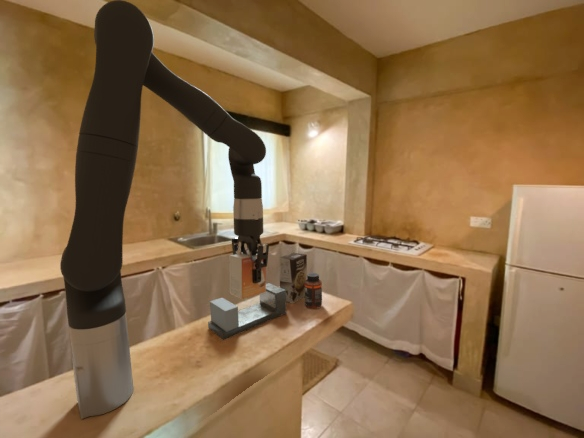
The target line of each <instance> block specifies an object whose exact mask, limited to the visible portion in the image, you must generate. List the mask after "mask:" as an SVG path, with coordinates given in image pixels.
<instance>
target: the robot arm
mask: <svg viewBox="0 0 584 438" xmlns="http://www.w3.org/2000/svg"><path fill="white" fill-rule="evenodd" d="M93 29H94V31H93V33H94V34H93V37H94V44H95V46H96V47H95V65H94V73H93V79H92V83H91V86H90V90H89V94H88V96H87V100H86V102H85V107H84V110H83V114H82V119H81V123H80V127H79V133H78V138H77V139H78V140H77V146H76V153H75V167H74V168H75V169H74V192H75V207H74V208H75V209H74V216H73V221H72V225H71V230H70V233H69V237H68V241H67V244H66V246H65V248H64V250H63V252H62V255H61V258H60V266H59V267H60V272H61V276H62V277H63V282H64V283H63V284H64V291H65V304H66V305H65V306H66V316H67V323H68V331H69V338H70V344H71V353H72V359H71V362H72V368H73V377H74V384H75V393H76V400H77V401H78V402H77V406H78V411H79V416H80V420H83V419H86V418H88V417H94V416H95V417H96V416H99V415H103V414H107V413H109V412H111V411H113V410H116V409H117V408H120V406H122V405H123V404H124V403H126V402H127V401H128V400H129V399H130V398H131V396H132V395H133V392H134V378H133V370H132V369H133V368H132V361H131V359H132V358H131V349H130V341H129V328H128V319H127V310H126V308H127V307H126V299H125V295H124V293H125V292H124V288H123V281H122V272H121V271H122V267H123V262H124V261H123V256H124V255H123V253H124V252H123V248H124V247H123V245H124V244H123V241H124V240H123V236H124V223H125V222H124V221H125V220H124V219H125V214H126V213H125V212H126V208H127V205H128V200H129V197H130V193H131V188H132V184H133V180H134V179H133V178H134V173H135V170H136V164H137V158H138V157H137V156H138V149H139V142H140V141H139V140H140V130H141V116H142V115H141V113H142V111H141V108H142V93H143V86H144V88H146V89H148V90H150V91H151V92H152V93H153V94H155V95H156V96H158V97H159V98H161V99H162V100H164V101H165V102H166V103H168V104H169V105H170V106H171V107H172V108H174V109H175V110H177V112H179V113H180V114H181V115H183V116H184V117H185V118H186V119H187V120H189V121H190V122H191V123H192V124H193V125H194V126H196V128H198V129H199V130H200V131H202V133H203V134H205V135H206V136H207V137H209V139H211V140H212V141H214V142H216V143H222V144H224V145H226V146H227V147H228V154H227V155H228V156H227V157H228V163H229V167H230V172H231V176H232V179H233V206H232V208H233V209H232V211H233V215H232V216H233V234H234V235H235V236H237V237H232V238H231V241H230V242H231V247H232V255H235V254H242V253H243V254H246V255H248V257H250V260H251V261H252V268H253V269H252V282H253V283H255V284H256V283H259V282H261V268H263V267H266V268H267V266H268V261H269V260H268V258H269V249H270V246H269V244H267V243H266V244H265V243H262V241H261V236H262V235H263V233H264V205H263V199H262V198H263V190H262V189H263V188H262V180H261V179H262V178H261V177H260V176H258V175H256V172H255V166H254V165H257V164H259V163H262V162H263V160H264V159H265V158H266V154H267V149H266V144H265V142H264V141H263V139H262V138H261V136H259V135H258V134H257V133H256V132H255V131H254V130H252V129H251V128H249V127H248V126H246V125H244V124H243V123H242V122H240V121H238V120H236V119H235V118H233V117H232V116H231V115H230V114H229V113H228V112H227V110H225V108H223V107H222V106H221V105H220V104H219V103H218V101H216V100H214V98H212V96H210V95H208V94H207V93H206V92H204V91H203V90H201V89H199V87H196V86H195V85H193V84H191V83H189V82H188V81H186V80H184V79H182V78H181V77H179V76H178V75H177V74H175V73H174V72H173V71H171V70H170V69H169V68H168V67H167V66H166V65H165V64H164V63H163V62H162V61H161V60H160V59H159V58H158V57H157V56H156V55H155V54H154V53H153V49H154V45H155V37H154V32H153V31H154V30H153V28H152V25H151V23H150V21H149V20H148V18H147V16H146V15H145V14H144V12H142V10H141V9H139V7H138V6H136V5H135V4H134V3H131V2H129V1H126V0H111V1H108V2H106V3H105V4H103V5H102V6H101V7H100V8H99V10H98V11H97V13H96V15H95V19H94V28H93ZM256 254H257V256H254V257H253V256H252V255H256ZM255 259H257V264H256V263H255ZM262 259H263V263H262Z"/></svg>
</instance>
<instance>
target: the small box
mask: <svg viewBox="0 0 584 438" xmlns="http://www.w3.org/2000/svg"><path fill="white" fill-rule="evenodd" d="M252 256H253V257H254V256H257V254H256V255H252ZM228 257H229V259H228V260H229V261H228V264H229V294H230V295H231V296H233V297H236V298H238V299H240V300H245V299H246V298H250V297H253V296H257V295H260V294H261V293H265V292H266V284H267V279H266V277H267V276H266V275H267V273H266V272H267V267H263V268H261V282H259V283H256V284H255V283H253V282H252V269H253V268H252V261H251V260H250V257H248V255H246V254H243V253H242V254H235V255H233V254H229V256H228ZM255 263H256V264H257V259H255ZM262 263H263V259H262Z"/></svg>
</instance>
